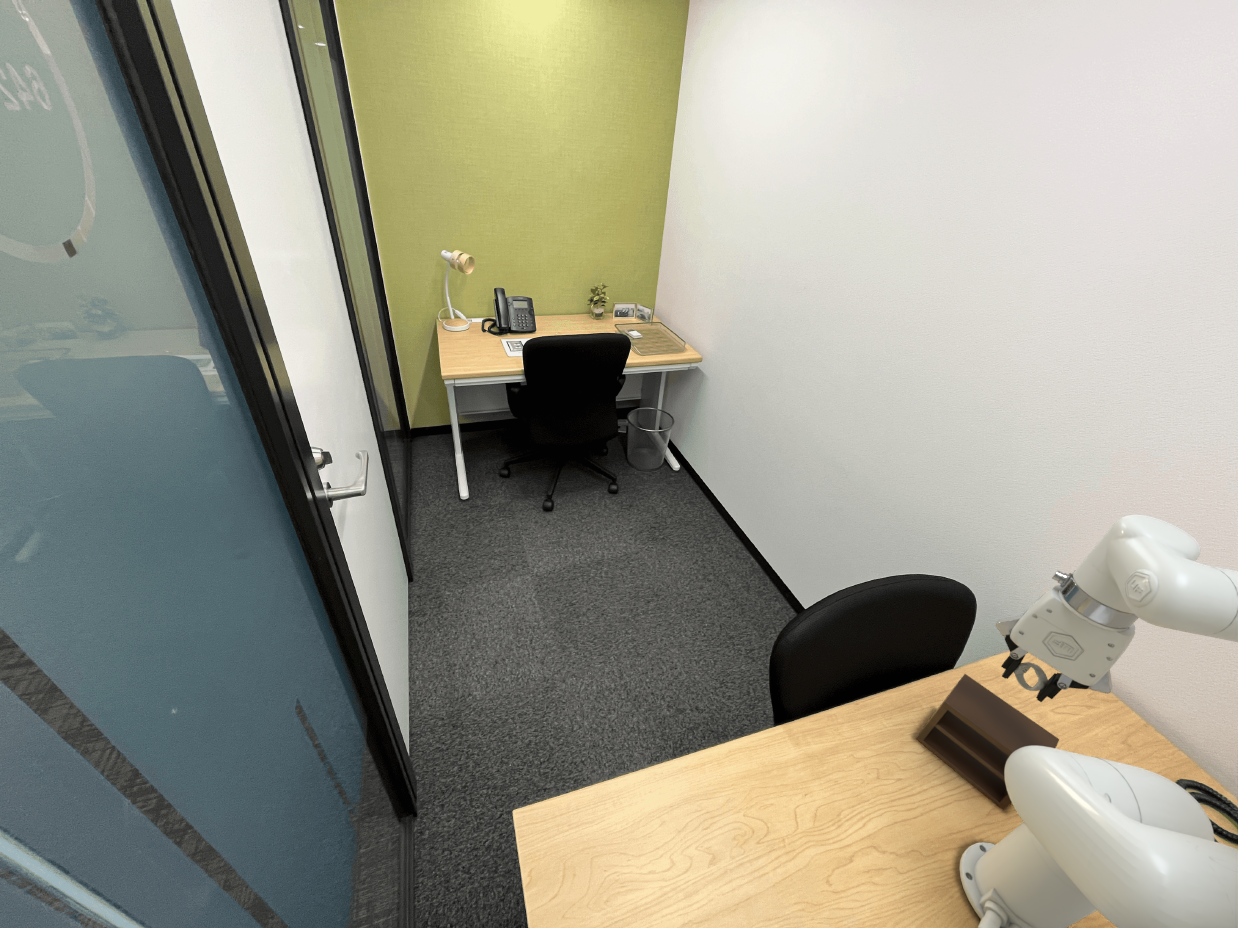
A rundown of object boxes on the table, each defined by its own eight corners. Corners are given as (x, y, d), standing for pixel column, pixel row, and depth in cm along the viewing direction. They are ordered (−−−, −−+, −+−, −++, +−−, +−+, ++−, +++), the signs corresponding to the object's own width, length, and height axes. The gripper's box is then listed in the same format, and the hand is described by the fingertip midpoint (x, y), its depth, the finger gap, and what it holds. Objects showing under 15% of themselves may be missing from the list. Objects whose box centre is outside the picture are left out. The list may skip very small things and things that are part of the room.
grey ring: (1040, 695, 73) (1055, 679, 70) (1028, 696, 72) (1043, 680, 70) (1019, 673, 76) (1033, 657, 73) (1007, 674, 75) (1021, 658, 73)
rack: (1003, 810, 79) (1043, 774, 73) (915, 738, 88) (944, 701, 82) (1020, 774, 85) (1059, 739, 78) (936, 710, 93) (965, 673, 87)
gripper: (1018, 574, 67) (955, 657, 77) (1181, 661, 57) (1085, 744, 67) (1033, 552, 71) (972, 634, 81) (1188, 630, 61) (1096, 712, 71)
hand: (1024, 683), depth 74 cm, fingers closed on grey ring, 3 cm apart
